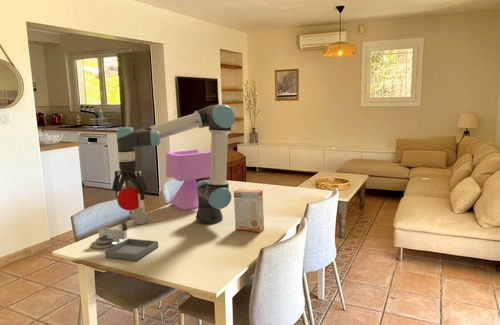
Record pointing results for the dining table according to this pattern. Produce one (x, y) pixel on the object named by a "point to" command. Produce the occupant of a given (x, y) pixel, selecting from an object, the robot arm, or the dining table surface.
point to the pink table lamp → (187, 175)
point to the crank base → (104, 243)
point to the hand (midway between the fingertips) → (130, 205)
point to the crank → (113, 232)
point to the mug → (138, 215)
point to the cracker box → (249, 210)
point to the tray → (131, 249)
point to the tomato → (128, 198)
